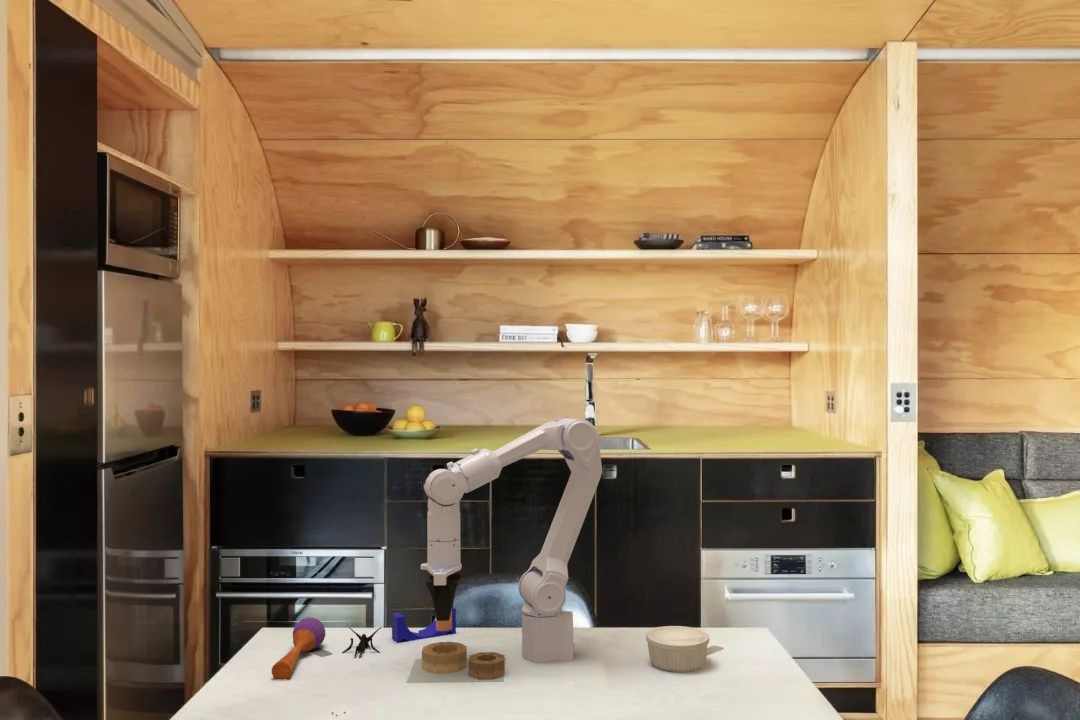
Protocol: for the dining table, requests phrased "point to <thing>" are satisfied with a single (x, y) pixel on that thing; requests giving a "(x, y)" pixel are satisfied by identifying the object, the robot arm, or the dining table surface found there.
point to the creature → (362, 643)
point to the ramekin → (677, 648)
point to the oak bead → (444, 657)
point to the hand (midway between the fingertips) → (444, 617)
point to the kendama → (300, 645)
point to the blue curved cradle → (402, 631)
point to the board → (442, 675)
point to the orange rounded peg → (444, 624)
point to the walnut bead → (486, 665)
